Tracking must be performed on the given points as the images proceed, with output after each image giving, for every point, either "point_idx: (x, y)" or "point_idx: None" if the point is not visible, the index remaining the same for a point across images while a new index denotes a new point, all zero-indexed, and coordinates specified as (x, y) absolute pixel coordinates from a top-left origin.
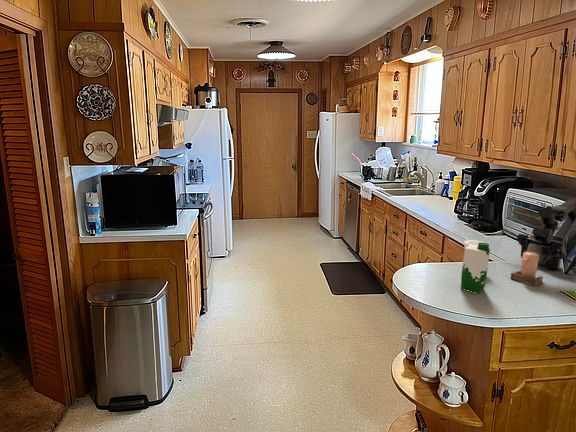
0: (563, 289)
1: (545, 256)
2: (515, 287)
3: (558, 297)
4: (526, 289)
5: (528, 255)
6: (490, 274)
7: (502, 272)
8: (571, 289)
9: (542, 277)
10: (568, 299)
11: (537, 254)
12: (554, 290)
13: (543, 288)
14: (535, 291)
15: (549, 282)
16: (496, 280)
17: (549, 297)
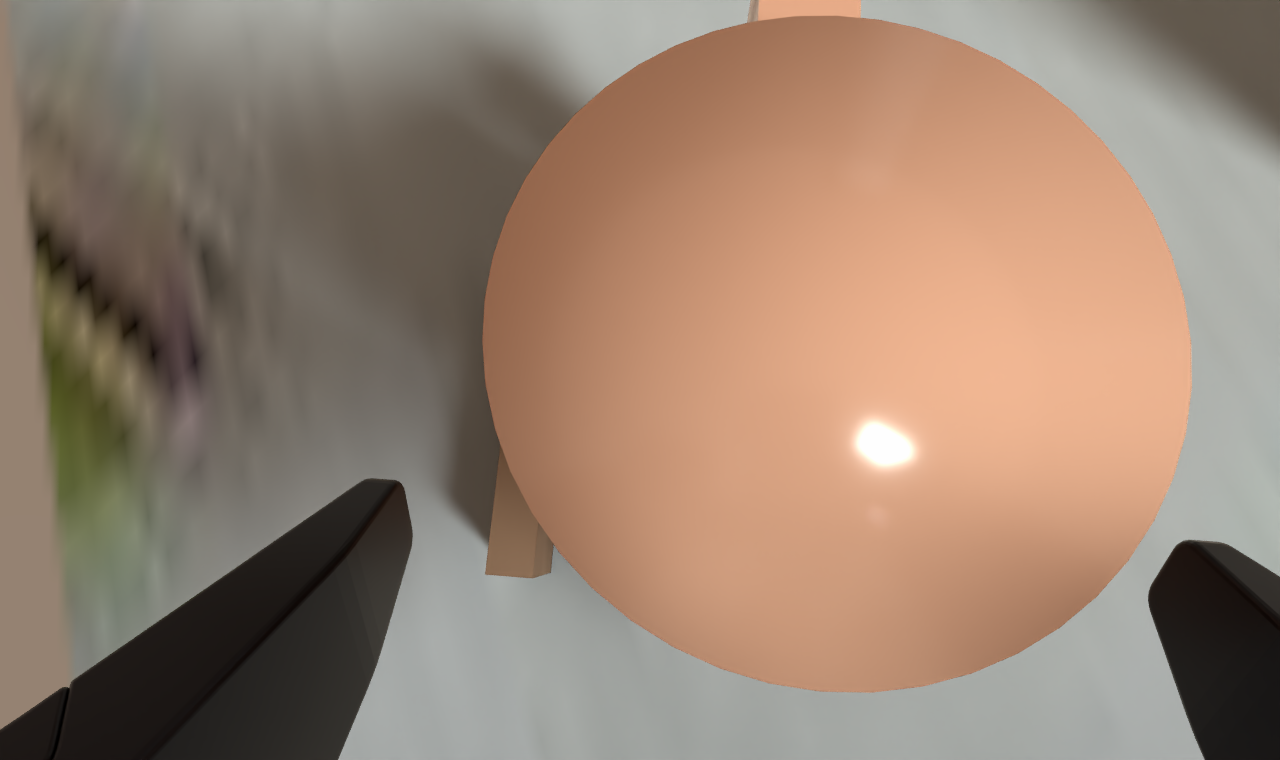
0: (166, 488)
1: (261, 608)
2: (704, 10)
3: (171, 107)
4: (570, 55)
5: (810, 17)
6: (1225, 229)
7: (1172, 498)
8: (64, 598)
9: (490, 555)
10: (55, 139)
11: (591, 482)
12: (265, 329)
13: (408, 282)
14: (457, 79)
15: (411, 655)
16: (1012, 56)
17: (263, 19)
